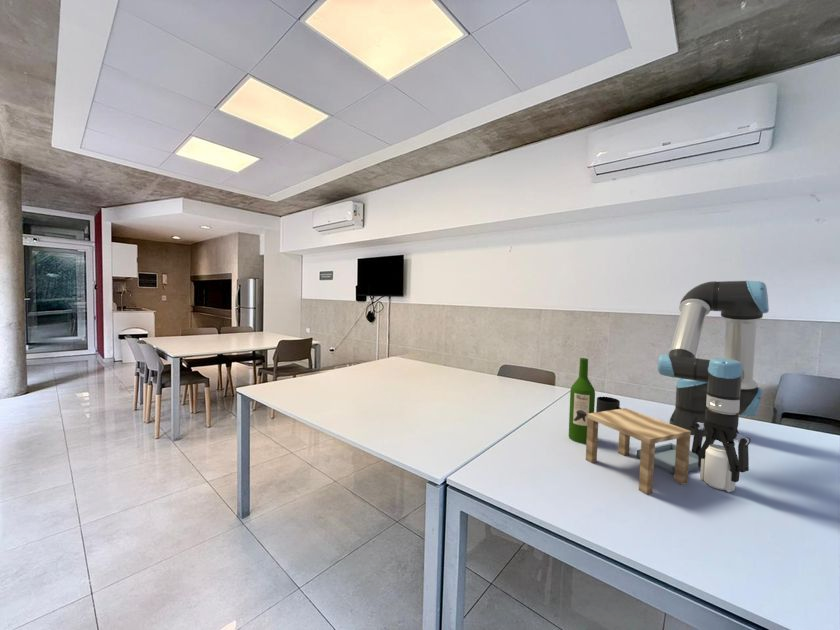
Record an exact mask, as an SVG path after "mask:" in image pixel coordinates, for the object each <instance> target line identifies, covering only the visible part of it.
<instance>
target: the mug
mask: <svg viewBox="0 0 840 630" xmlns="http://www.w3.org/2000/svg"><path fill="white" fill-rule="evenodd" d="M620 405H621V403H620V400H619V399H617V398H614V397H612V396H611V397H610V396H598V397H596V405H595V406H596V410H595V413H596V412H603V411H609V410H616V409H622V407H620Z"/></svg>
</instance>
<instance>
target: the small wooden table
mask: <svg viewBox="0 0 840 630" xmlns="http://www.w3.org/2000/svg"><path fill="white" fill-rule="evenodd" d="M599 424H600V425H603V426H605V427H608V428H609V429H612V430H614V431H617V432H618V433H619V434H618V452H617V453H618V454H620V455H622V456H624V457H625V456H629V455H630V445H631V443H630V440H631V438H634V439H635V440H638V441H641V443H640V449H641V457H640V458H639V460H640V461H639V476H638V477H639V479H638V480H639V481H638V491H639V492H641V493H643V494H644V495H649V494H650V495H651V494H653V486H654V485H653V484H654V471H655V469H654V454H655V446H656V444H658V443H664V442H668V441H673V440H676V441H675V442H676V443H675V445H676V457H675V473H674V475H673V481H674V482H676V483H678V484H680V485H686V484H688V481H689V480H688V478H689V472H688V466H689V451H691V449H690V447H691V435H692V434H691V431H689V430H686V429H683V428H680V427H678V426H675V425H672V424H669V422H666V421H663V420H661V419H658V418H655V417H651V416H650V415H646V414H644V413H640V412H637V411H635V410H632V409H628V408H627V407H624V408H621V409H616V410H609V411H603V412H596V411H595V412H594V413H589V414H588V420H587V442H586V443H585V446H586V447H585V449H586V450H585V460H586V461H588V462H589V463H591V464H592V463H593V464H594V463H597V460H598V459H597V458H598V439H599Z"/></svg>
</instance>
